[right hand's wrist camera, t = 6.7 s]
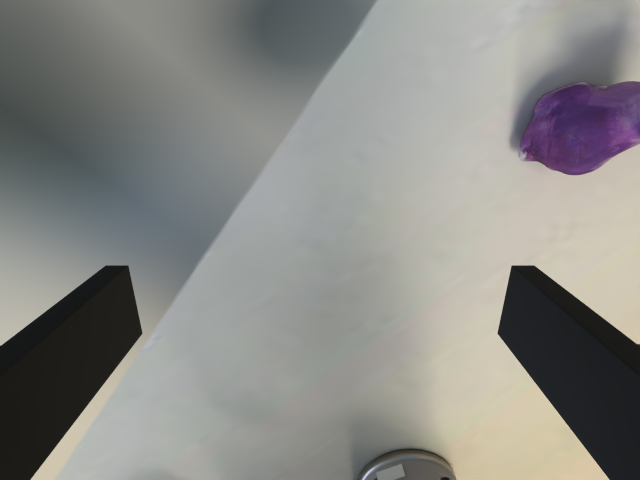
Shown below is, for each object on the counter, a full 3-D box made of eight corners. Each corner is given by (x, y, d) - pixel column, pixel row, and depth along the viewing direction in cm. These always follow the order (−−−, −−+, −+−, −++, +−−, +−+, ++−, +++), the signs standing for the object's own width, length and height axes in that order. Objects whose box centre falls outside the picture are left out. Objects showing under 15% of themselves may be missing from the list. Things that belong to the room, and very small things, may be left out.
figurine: (636, 77, 35) (843, 61, 21) (586, 178, 39) (735, 221, 25) (547, 52, 35) (702, 19, 21) (504, 158, 38) (611, 190, 24)
